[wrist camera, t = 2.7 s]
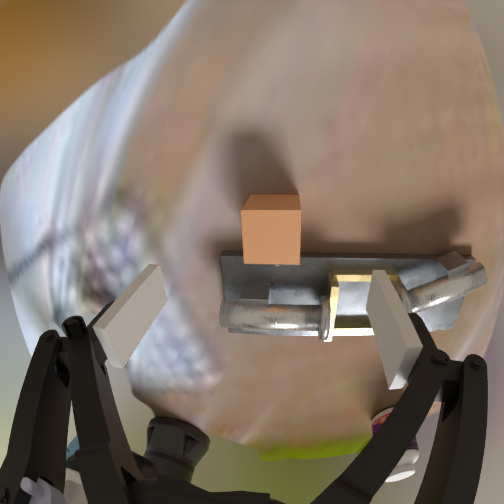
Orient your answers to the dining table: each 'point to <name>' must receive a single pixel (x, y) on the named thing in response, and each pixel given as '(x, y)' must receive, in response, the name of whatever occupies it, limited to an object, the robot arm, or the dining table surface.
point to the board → (337, 286)
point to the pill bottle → (409, 457)
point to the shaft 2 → (444, 283)
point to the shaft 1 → (274, 313)
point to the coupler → (271, 229)
